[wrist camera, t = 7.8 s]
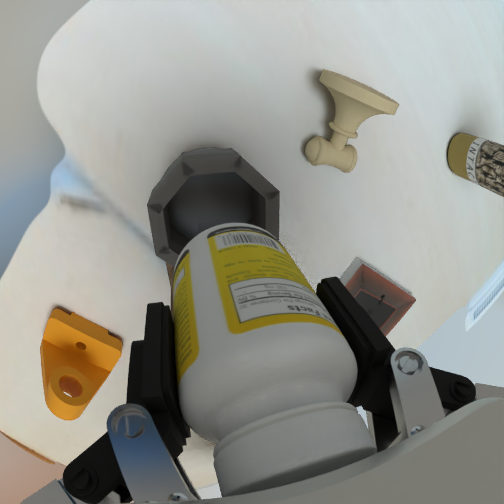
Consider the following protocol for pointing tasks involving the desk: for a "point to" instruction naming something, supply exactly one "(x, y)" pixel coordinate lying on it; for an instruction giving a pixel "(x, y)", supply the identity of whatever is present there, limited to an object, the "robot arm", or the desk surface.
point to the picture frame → (377, 295)
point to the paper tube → (478, 161)
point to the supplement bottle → (261, 363)
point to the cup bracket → (208, 201)
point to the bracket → (75, 362)
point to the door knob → (346, 120)
